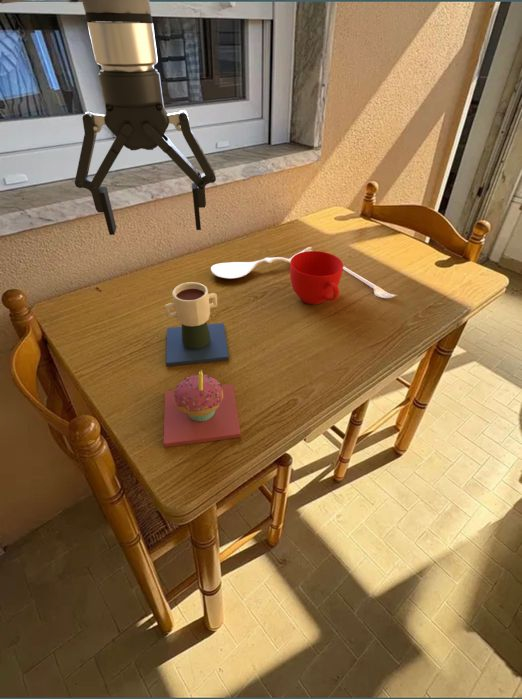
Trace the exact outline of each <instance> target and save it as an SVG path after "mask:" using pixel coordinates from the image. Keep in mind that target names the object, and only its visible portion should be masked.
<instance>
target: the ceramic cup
mask: <svg viewBox="0 0 522 699" xmlns="http://www.w3.org/2000/svg"><path fill="white" fill-rule="evenodd" d="M298 253H299V254H297V253H296V254H297V255H295V254H294V255H295V256H294V255H293V256H294V257H293V256H292V257H293V258H292V257H291V258H292V259H291V261H290V263H289V277H290V283H291V287H292V289H293V292H294V293H295V294H296V296H297V297H298V298H299V299H300V300H301V301H302V302H303V303H305V304H308V305H319V304H322V303H324V302H325V301H327V302H333V301H336V300H337V299H338V298H339V295H340V288H339V284H340V282H341V277H342V274H343V270H344V269H343V267H344V263H343V261H342V260H341V258H339V257H338V256H336V255H334V254H332V253H329V252H326V251H320V250H313V251H310V250H309V251H307V252H302V253H300V252H298Z"/></svg>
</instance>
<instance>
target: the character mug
mask: <svg viewBox="0 0 522 699" xmlns="http://www.w3.org/2000/svg"><path fill="white" fill-rule="evenodd" d="M171 293H172V300H173V302H169V303H167V304H165V305H164V312H165V316H166V318H167V319H173V318H175V319H177V321H178V322H179V323H180V324H181V327H182V343H183V344H184V345H185V346H187V347H189V348H195V349H198V348H202V347H205V346H206V345H207V344H208V343H209V341H210V339H211V338H210V333H209V329H208V325H207V324H208V322H207V321H209V319H210V316H211V309H212V308H216V307H218V295H217V293H215V292H211V293H209V289H208V287H207V286H206V285H204V284H202V283H200V282H194V281H190V282H183V283H180V284H178V285H177V286H175V287H174V288H173V290H172V292H171ZM210 299H212V302H211V303H210ZM171 309H174V312H171Z"/></svg>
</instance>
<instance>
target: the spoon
mask: <svg viewBox="0 0 522 699" xmlns="http://www.w3.org/2000/svg"><path fill="white" fill-rule="evenodd" d="M307 251H314V250H313V247H312V246H308V247H306V248H304V249H303V250H301V251H300V252H297V253H295V254H294V255H292V256H291V257H290V258H287V257H282V256H276V257H264V258H263V259H259V260H255V261H232V262H220V263H216V264H213V265H212V266H211V267H210V272H211V274H212V275H213V276H215V277H217V278H221V279H227V280H232V279H233V280H235V279H240V278H242V277H245V276H247V275H248V274H250V273H251V272H252V271H253V270H254V269H255V268H256V267H257V266H259V265H261V264H271V263H274V262H283V263H287V264H290V261H291V259H292V258H293V257H294V256H295V255H297V254H299V253H302V252H307Z"/></svg>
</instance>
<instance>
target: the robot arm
mask: <svg viewBox="0 0 522 699" xmlns="http://www.w3.org/2000/svg"><path fill="white" fill-rule="evenodd" d="M23 2H68V3H82V6H83V9H84V16H85V19H86V23H87V27H88V28H87V29H88V33H89V38H90V42H91V47H92V52H93V56H94V60H95V61H94V62H95V63H96V64H97V65H99V66H101V69H100V70H99V72H98V78H99V83H100V87H101V92H102V97H103V101H104V106H105V113H104V114H100V113H94V112H93V111H91V110H87V111H86V112H85V113H84V114H83V115H82V124H83V131H84V134H83V140H82V145H81V149H80V154H79V159H78V164H77V170H76V174H75V179H74V185H75V186H76V188H78V189H86V190H88V191H90V193H91V196H92V200H93V204H94V207H95V210H96V212H97V213H99V214H100V213H103V215H104V219H105V224H106V227H107V231H108V235H109V236H115V234H116V231H117V224H116V220H115V216H114V212H113V207H112V203H111V199H110V196H109V191H108V188H107V187H108V186H101V185H102V183H103V182H104V181H105V179H106V177H107V175H108V173H109V172H110V170H111V168H112V167H113V165H114V163H115V162H116V159H117V158H118V157H119V155H120V153H121V151H122V149H123V147H125V148H126V149H128V150H130V151H138V150H147V151H154V149H156V148H157V147H158V148H160V150H161V151H162V152H163V153H164V154H165V155H167V156H168V157H169V158H170V159H171V160H172V161H173V162H174V163H175V164H176V165H177V166H178V168H179V169H180V170H181V171H182V172H183V173H184V174H185V175H186V176H187V177H188V178H189V179H190V180H191V181H192V183H191V190H192V200H193V201H192V202H193V212H194V220H195V222H194V223H195V230H196V231H202V225H201V215H200V209H201V208H204V209H205V208H206V205H207V200H206V199H207V198H206V190H205V189H206V186H207V185H209V184H214V183H215V182H216V181H217V177H216V173H215V171H214V168H213V167H212V165H211V163H210V161H209V160H208V157H207V156H206V153H205V152H204V150H203V149H202V147H201V145H200V143H199V141H198V139H197V138H196V135H195V134H194V131H193V130H192V128H191V125H190V119H189V115H188V111H186V109H180V110H179V111H178V112H172V113H167V111H166V109H165V105H164V98H163V90H162V81H161V74H160V72H158V69H157V68H155V65H157V64H158V62H159V60H158V52H157V43H156V38H155V37H156V36H155V29H154V28H155V27H154V23H153V17H152V16H153V15H152V11H151V3H150V0H0V4H2V5H3V4H13V3H23ZM171 124H172V125H173V126H174V129H175V130H176V131H178V132H181V133H182V136H183V138H184V140H185V142H186V143H187V145H188V147H189V148H190V150H191V152H192V154H193V156H194V157H195V160H196V162H197V163H198V165H199V166H200V168H201V170H202V172H203V173H202V174H201V173H200V171H199V170H198V169H196V167H195V166H194V165H193V164H192V163H191V162H190V160H188V158H187V157H186V156H185V155H184V154H183V153H182V152H181V151H180V149H178V148H177V146H175V144H174V143H173V142H172V140H171V139H170V137H168V136H167V135H166V131H167V130H168V127H169V125H171ZM104 125H105V126H106V128H107V129H109V131H110V132H111V133H112V134H113V135H114V136H115V139H114V141H113V142H112V143H111V146H110V148H109V149H108V151H107V153H106V155H105V157H104V158H103V160H102V162H101V163H100V166H99V167H98V169H97V171H96V172H95V174H94V175H93V178H91V177H89V172H90V167H91V163H92V158H93V153H94V149H95V144H96V139H97V134H98V133H100V132H101V130H102V128H103V126H104Z"/></svg>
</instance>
